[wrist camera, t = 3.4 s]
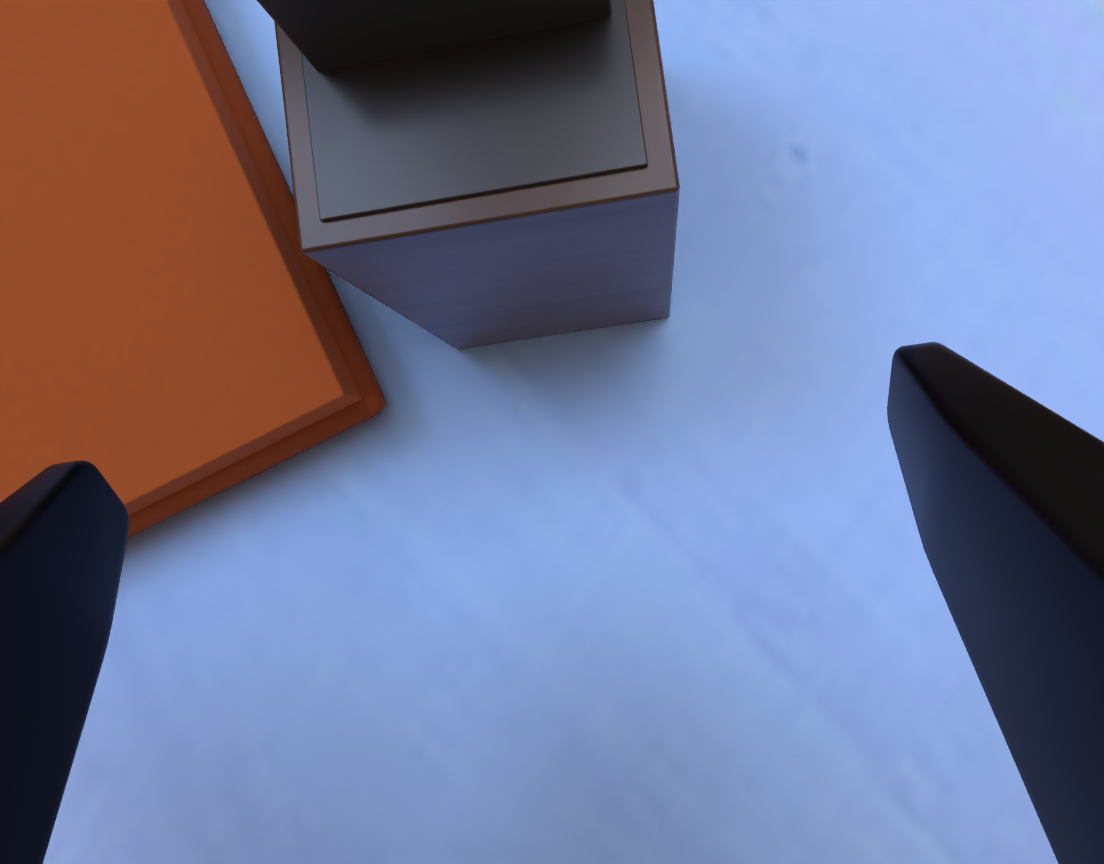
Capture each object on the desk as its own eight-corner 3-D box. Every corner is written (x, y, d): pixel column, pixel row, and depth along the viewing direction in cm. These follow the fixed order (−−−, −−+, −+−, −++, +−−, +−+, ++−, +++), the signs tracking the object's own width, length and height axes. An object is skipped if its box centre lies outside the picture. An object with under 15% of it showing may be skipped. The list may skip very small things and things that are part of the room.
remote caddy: (670, 317, 22) (686, 117, 10) (455, 349, 23) (212, 200, 10) (633, 52, 22) (602, -467, 10) (423, 91, 23) (153, -353, 11)
